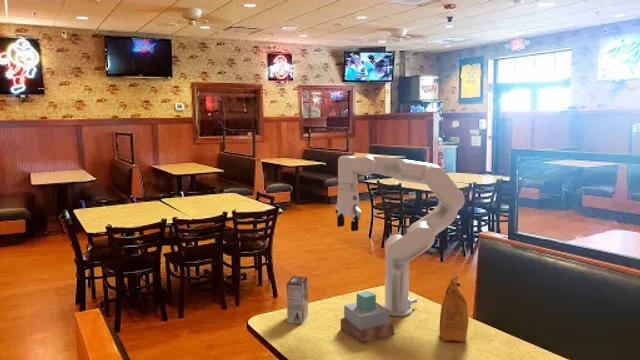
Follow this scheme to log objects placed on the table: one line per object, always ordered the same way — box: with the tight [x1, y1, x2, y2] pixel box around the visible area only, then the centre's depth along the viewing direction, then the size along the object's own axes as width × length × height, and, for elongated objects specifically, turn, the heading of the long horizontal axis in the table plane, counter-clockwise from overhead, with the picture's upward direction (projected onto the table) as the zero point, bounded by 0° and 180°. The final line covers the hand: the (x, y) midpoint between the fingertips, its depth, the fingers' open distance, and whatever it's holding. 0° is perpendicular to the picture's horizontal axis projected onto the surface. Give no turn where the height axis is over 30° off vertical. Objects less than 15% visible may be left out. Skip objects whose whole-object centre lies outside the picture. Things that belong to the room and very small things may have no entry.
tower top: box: [343, 302, 390, 330], centre depth 180 cm, size 12×12×5 cm
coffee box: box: [286, 275, 309, 325], centre depth 192 cm, size 9×6×16 cm
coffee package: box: [439, 273, 469, 342], centre depth 176 cm, size 10×12×22 cm
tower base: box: [340, 317, 395, 345], centre depth 180 cm, size 14×14×5 cm
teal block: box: [356, 290, 377, 311], centre depth 180 cm, size 5×5×5 cm
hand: (347, 228), depth 198 cm, fingers open, 9 cm apart
